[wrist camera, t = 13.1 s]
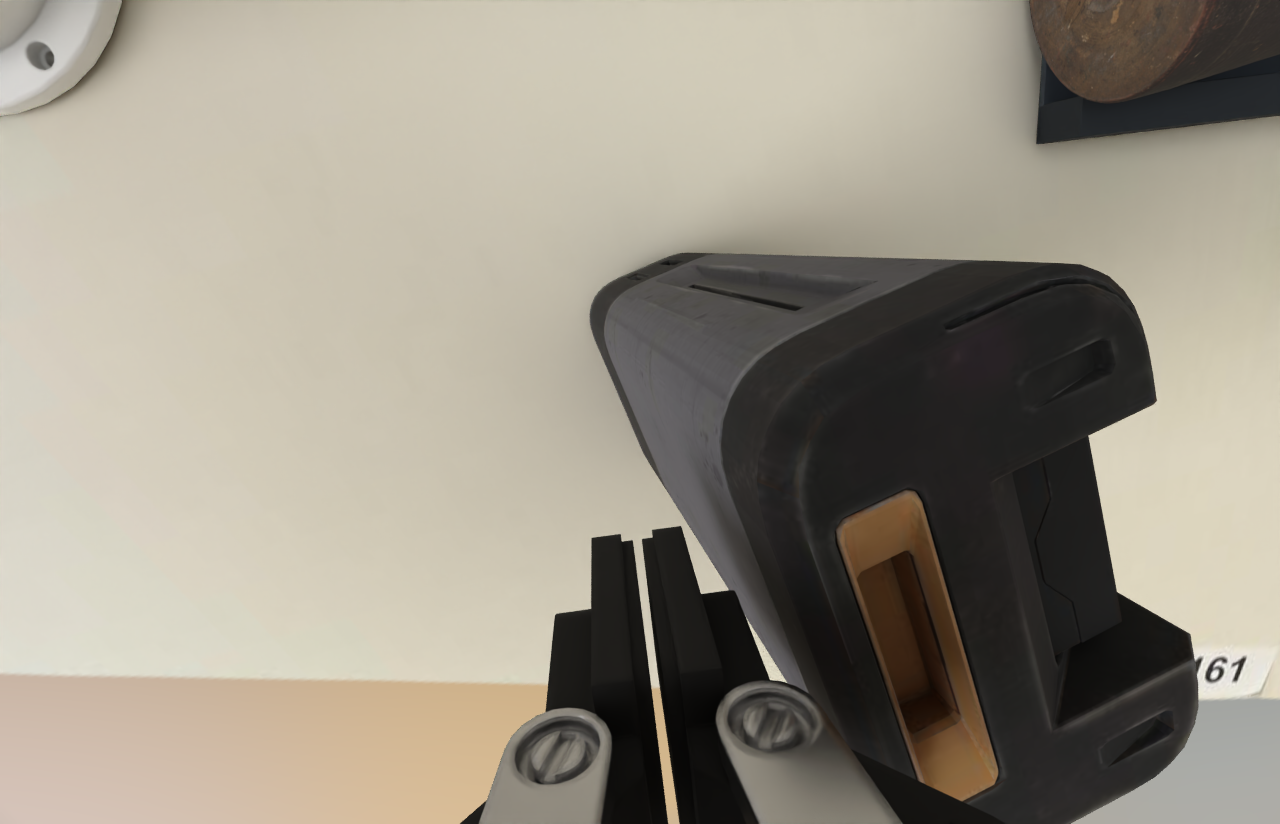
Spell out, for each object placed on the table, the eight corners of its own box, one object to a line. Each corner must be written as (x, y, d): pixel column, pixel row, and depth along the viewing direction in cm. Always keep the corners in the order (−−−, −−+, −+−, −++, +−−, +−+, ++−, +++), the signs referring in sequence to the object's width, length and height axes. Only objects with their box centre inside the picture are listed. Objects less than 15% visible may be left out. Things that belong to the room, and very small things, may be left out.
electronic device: (772, 431, 30) (1230, 757, 11) (656, 485, 29) (919, 923, 10) (704, 239, 27) (1159, 219, 8) (575, 295, 27) (729, 416, 8)
